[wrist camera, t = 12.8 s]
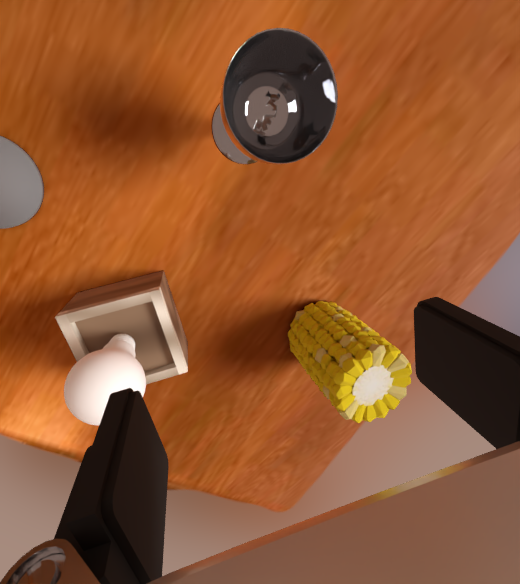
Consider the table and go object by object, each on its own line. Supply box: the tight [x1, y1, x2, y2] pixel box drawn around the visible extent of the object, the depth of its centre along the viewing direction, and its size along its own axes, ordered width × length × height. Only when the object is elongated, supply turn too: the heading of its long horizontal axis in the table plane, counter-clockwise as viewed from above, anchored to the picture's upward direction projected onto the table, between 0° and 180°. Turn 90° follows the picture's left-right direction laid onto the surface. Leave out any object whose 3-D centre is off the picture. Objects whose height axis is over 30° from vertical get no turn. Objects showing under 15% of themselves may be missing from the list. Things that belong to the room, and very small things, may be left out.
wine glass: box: [212, 28, 338, 164], centre depth 29 cm, size 8×8×15 cm
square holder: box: [55, 271, 188, 384], centre depth 37 cm, size 10×10×7 cm
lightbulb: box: [64, 334, 146, 425], centre depth 29 cm, size 6×6×11 cm
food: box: [287, 301, 412, 423], centre depth 40 cm, size 15×12×10 cm
